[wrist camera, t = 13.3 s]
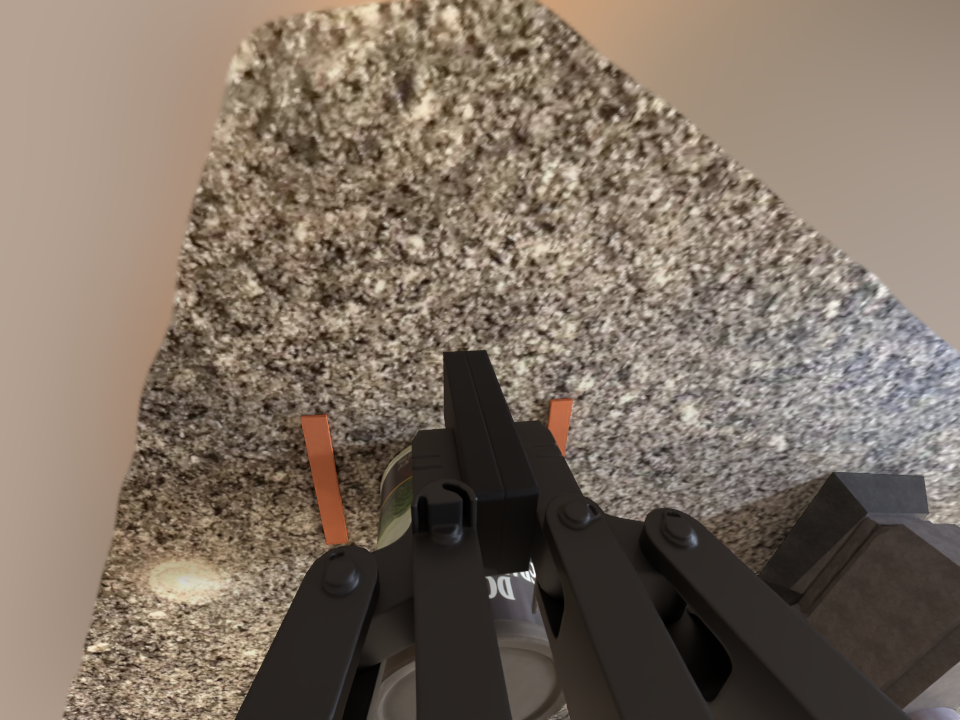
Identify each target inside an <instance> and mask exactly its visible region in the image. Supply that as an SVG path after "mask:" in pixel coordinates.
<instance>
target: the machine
mask: <svg viewBox="0 0 960 720" xmlns="http://www.w3.org/2000/svg"><path fill="white" fill-rule="evenodd" d="M928 514H929V512H928V504H927V496H926V489H925V481H924V476H904V475H883V474H863V473H843V472H833V473H832V475H831V476H830V477H829V479H828V480H827V482H826V483H825V484H824V486H823V487H822V489H821V490H820V491H819V493H818V494H817V496H816V497H815V498H814V500H813V501H812V503H811V504H810V505H809V507H808V508H807V509H806V511H805V512H804V514H803V515H802V516H801V518H800V519H799V521H798V522H797V523H796V525H795V526H794V528H793V529H792V530H791V532H790V533H789V535H788V536H787V537H786V539H785V540H784V541H783V543H782V544H781V546H780V547H779V548H778V550H777V551H776V553H775V554H774V555H773V557H772V558H771V560H770V561H769V562H768V564H767V565H766V567H765V568H764V569H763V571H762V572H761V573H760V575H759V576H758V577H759V578H760V579H761V580H762V581H763V582H765V583H766V584H767V585H768V586H769V587H770V588H771V589H772V590H773V591H774V592H775V593H776V594H778V595H779V596H780V597H781V598H782V599H783V600H784V601H785V602H786V603H787V604H788V605H789V606H791V607H792V608H793V609H794V610H795V611H796V612H797V613H798V614H799V615H800V616H801V617H802V618H803V619H805V620H806V621H807V622H808V623H809V624H810V625H811V626H812V627H813V628H814V629H815V630H816V631H818V632H819V633H820V634H821V635H822V636H823V637H824V638H825V639H826V640H827V641H828V642H829V643H830V644H832V645H833V646H834V647H835V648H836V649H837V650H838V651H839V652H840V653H841V654H842V655H843V656H845V657H846V658H847V659H848V660H849V661H850V662H851V663H852V664H853V665H854V666H855V667H856V668H857V669H859V670H860V671H861V672H862V673H863V674H864V675H865V676H866V677H867V678H868V679H869V680H870V681H872V682H873V683H874V684H875V685H876V686H877V687H878V688H879V689H880V690H881V691H882V692H883V693H884V694H886V695H887V696H888V697H889V698H890V699H891V700H892V701H893V702H894V703H895V704H896V705H897V706H899V707H900V708H901V709H902V710H903V711H904V712H905V713H906V714H907V715H908V716H909V717H910V718H912V719H913V720H960V716H959V715H958V714H957V713H956V712H955V711H954V710H956V709H957V708H958V707H960V527H958V526H957V525H955V524H933V523H931V522H930V521H923V520H924V519H925V518H926V516H927V515H928Z"/></svg>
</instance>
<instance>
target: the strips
mask: <svg viewBox="0 0 960 720" xmlns="http://www.w3.org/2000/svg"><path fill="white" fill-rule="evenodd" d="M572 402H573V400H572V398H566V399H551V400H550V408H549V416H548V424H547V428H548V429H549V430H550V431H551V433H552V435H553V437H554V439H555V441H556V443H557V446H558V447H559V449H560V451H561V453H562V456H563V457H564V454H565V448H566V441H567V435H568V428H569V422H570V415H571V409H572ZM300 419H301V423H302V428H303V433H304V438H305V443H306V447H307V452H308V457H309V462H310V467H311V471H312V476H313V481H314V486H315V491H316V496H317V500H318V505H319V510H320V515H321V520H322V524H323V529H324V534H325V539H326V544H327V545H331V544H340V543H348V535H347V530H346V524H345V518H344V512H343V506H342V500H341V495H340V489H339V483H338V477H337V471H336V465H335V460H334V454H333V448H332V442H331V436H330V431H329V425H328V419H327V414H321V415H306V416H301V418H300Z"/></svg>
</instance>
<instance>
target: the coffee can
mask: <svg viewBox="0 0 960 720" xmlns="http://www.w3.org/2000/svg"><path fill="white" fill-rule="evenodd" d="M380 492H381V503H380V514H379V526H378V538H377V550H378V549H381V548H383V547H385V546H388V545H389V544H391V543H393V542H395V541H396V540H398V539H399V538H400V537H401V536H402V535H403V534H404V533H405V532H406V530H407V529H408V528H409V526H410V523H411V521H412V520H411V502H412V498H413V492H412V445H410V446H408V447H407V448H405V449H404V450H402V451H401V452H400V453H399V454H398V455H397V456H396V457H395V458H394V459H393V460H392V461H391V462H390V464H389V465H388V467H387V468H386V470H385V473H384V475H383V478H382V481H381V486H380ZM535 577H536V574H535V570H534V567H533V564H532V560H531V557H530V564H529V571H526V572H519V573H511V574H504V575H496V576H489V577H486V582H487V587H488V593H489V598H490V603H491V609H492V614H493V619H494V625H495V630H496V635H497V641H498V646H499V651H500V656H501V662H502V667H503V672H504V678H505V683H506V688H507V694H508V699H509V704H510V710H511V715H512V720H549V719H550V718H551V717H553V716H554V715H555V714H556V713H557V712H559V711H560V710H561V709H562V707H563V706H564V705H565V704H566V701H565V697H564V694H563V690H562V687H561V683H560V680H559V676H558V673H557V669H556V666H555V662H554V659H553V655H552V652H551V648H550V645H549V641H548V638H547V634H546V631H545V627H544V624H543V620H542V617H541V613H540V610H539V606H538V609H537V614H532V605H531V604H532V597H533V590H534V584H535ZM372 720H417V718H416V672H415V644H413V645H411V646H409V647H408V648H406V649H404V650H402V651H400V652H398V653H397V654H395V655H393V656H391V657H389V658H387V661H386V665H385V669H384V673H383V677H382V681H381V685H380V689H379V693H378V697H377V701H376V705H375V709H374V713H373V717H372Z"/></svg>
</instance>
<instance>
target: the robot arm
mask: <svg viewBox="0 0 960 720" xmlns="http://www.w3.org/2000/svg"><path fill="white" fill-rule="evenodd" d="M443 371H444V419H445V426H446V429H432V430H419V431H418V432H417V434H416V436H415V438H414V439H413V441H412V443H411V444H412V492H413V498H412V502H411V520H412V521H411V523H410V526H409V528H408V529H407V530H406V532H405V533H404V534H403V535H402V536H401V537H400V538H399V539H398V540H396V541H395V542H393V543H391V544H389V545H388V546H385V547H383V548H381V549H378V550H376V551H374V552H371V553H370V552H369V551H368V550H366V549H365V548H362V547H358V546H355V545H351V546H340V547H338V548H335V549H333V550H330V551H328V552H326V553H325V554H323V555H322V556H321V557H320V558H318V559H317V560H316V561H315V562H314V563H313V564H312V566H311V567H310V569H309V570H308V571H307V573H306V575H305V577H304V579H303V581H302V583H301V585H300V587H299V589H298V591H297V593H296V595H295V597H294V599H293V601H292V603H291V605H290V608H289V610H288V612H287V614H286V616H285V618H284V620H283V622H282V624H281V626H280V628H279V630H278V632H277V634H276V636H275V638H274V640H273V642H272V644H271V646H270V648H269V650H268V652H267V654H266V657H265V659H264V661H263V663H262V665H261V667H260V669H259V671H258V673H257V675H256V677H255V679H254V681H253V683H252V685H251V687H250V689H249V691H248V693H247V695H246V697H245V699H244V701H243V703H242V706H241V708H240V710H239V712H238V714H237V716H236V718H235V720H372V717H373V713H374V709H375V705H376V701H377V697H378V693H379V689H380V685H381V681H382V677H383V673H384V669H385V665H386V661H387V658H389V657H391V656H393V655H395V654H397V653H398V652H400V651H402V650H404V649H406V648H408V647H409V646H411V645H413V644H415V672H416V718H417V720H512V715H511V710H510V704H509V699H508V694H507V688H506V683H505V678H504V672H503V667H502V662H501V656H500V651H499V646H498V641H497V635H496V630H495V625H494V619H493V614H492V609H491V603H490V598H489V593H488V587H487V582H486V577H489V576H496V575H504V574H511V573H519V572H526V571H529V564H530V557H531V560H532V564H533V567H534V570H535V574H536V577H535V584H534V590H533V597H532V604H531V605H532V614H537V609H538V606H539V610H540V613H541V617H542V620H543V624H544V627H545V631H546V634H547V638H548V641H549V645H550V648H551V652H552V655H553V659H554V662H555V666H556V669H557V673H558V676H559V680H560V683H561V687H562V690H563V694H564V697H565V701H566V704H567V708H568V711H569V715H570V718H571V720H913V719H912V718H910V717H909V716H908V715H907V714H906V713H905V712H904V711H903V710H902V709H901V708H900V707H899V706H897V705H896V704H895V703H894V702H893V701H892V700H891V699H890V698H889V697H888V696H887V695H886V694H884V693H883V692H882V691H881V690H880V689H879V688H878V687H877V686H876V685H875V684H874V683H873V682H872V681H870V680H869V679H868V678H867V677H866V676H865V675H864V674H863V673H862V672H861V671H860V670H859V669H857V668H856V667H855V666H854V665H853V664H852V663H851V662H850V661H849V660H848V659H847V658H846V657H845V656H843V655H842V654H841V653H840V652H839V651H838V650H837V649H836V648H835V647H834V646H833V645H832V644H830V643H829V642H828V641H827V640H826V639H825V638H824V637H823V636H822V635H821V634H820V633H819V632H818V631H816V630H815V629H814V628H813V627H812V626H811V625H810V624H809V623H808V622H807V621H806V620H805V619H803V618H802V617H801V616H800V615H799V614H798V613H797V612H796V611H795V610H794V609H793V608H792V607H791V606H789V605H788V604H787V603H786V602H785V601H784V600H783V599H782V598H781V597H780V596H779V595H778V594H776V593H775V592H774V591H773V590H772V589H771V588H770V587H769V586H768V585H767V584H766V583H765V582H763V581H762V580H761V579H760V578H759V577H758V576H757V575H756V574H755V573H754V572H753V571H752V570H751V569H749V568H748V567H747V566H746V565H745V564H744V563H743V562H742V561H741V560H740V559H739V558H738V557H736V556H735V555H734V554H733V553H732V552H731V551H730V550H729V549H728V548H727V547H726V546H725V545H724V544H722V543H721V542H720V541H719V540H718V539H717V538H716V537H715V536H714V535H713V534H712V533H711V532H709V531H708V530H707V529H706V528H705V527H704V526H703V525H702V524H701V523H700V522H698V521H697V520H695V519H694V518H693V517H691V516H690V515H688V514H686V513H683V512H681V511H679V510H675V509H669V508H660V509H654V510H653V511H651V512H650V513H648V514H647V516H646V519H645V522H642V521H636V520H630V519H624V518H618V517H614V516H610V515H608V514H605V513H604V512H603V510H602V509H601V508H600V507H599V505H598V504H597V503H595V502H594V501H592V500H591V499H589V498H588V497H585V496H583V494H582V492H581V490H580V488H579V486H578V484H577V482H576V480H575V478H574V477H573V475H572V473H571V471H570V469H569V467H568V465H567V463H566V461H565V459H564V457H563V456H562V453H561V451H560V449H559V447H558V446H557V443H556V441H555V439H554V437H553V435H552V433H551V431H550V430H549V429H548V428H547V427H545V426H544V425H543V424H542V423H541V422H539V421H524V422H514V421H513V418H512V416H511V413H510V411H509V408H508V406H507V403H506V400H505V398H504V395H503V393H502V390H501V388H500V385H499V382H498V380H497V377H496V375H495V372H494V370H493V367H492V365H491V362H490V359H489V357H488V354H487V352H486V350H477V351H455V352H443Z"/></svg>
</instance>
